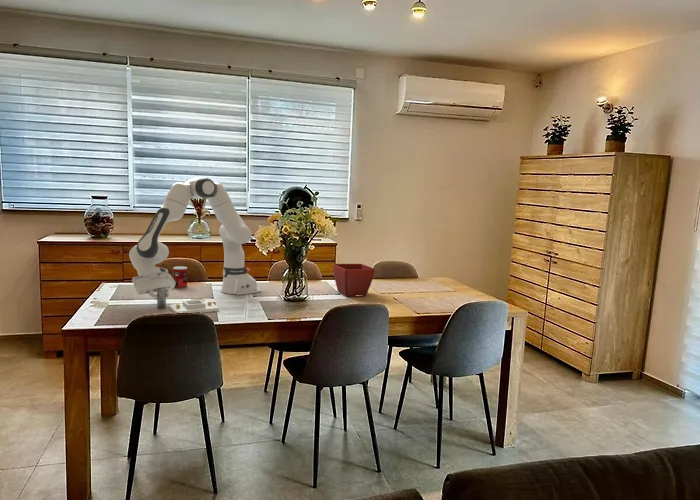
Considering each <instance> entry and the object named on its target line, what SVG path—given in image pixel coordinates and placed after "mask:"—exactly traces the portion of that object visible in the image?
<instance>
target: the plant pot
mask: <svg viewBox="0 0 700 500" xmlns="http://www.w3.org/2000/svg"><path fill="white" fill-rule="evenodd" d="M332 270H333V276H334V281H335V282H334V283H335V285H336V289H337V293H339V292H340V293H339V294H341V293H342V294H341V295H343V296H344V295H345V297H346V296H353V297H357V296H356V295H366V296H367V294H368V291H369V290H370V287H371V286H372V285H371V284H372V282H373V278H374V275H375V271H376V269H375V268H374V267H371V266H368V265H366V264H362V263H332Z"/></svg>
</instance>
